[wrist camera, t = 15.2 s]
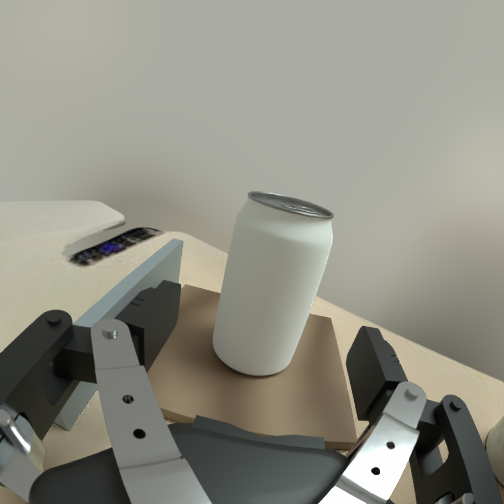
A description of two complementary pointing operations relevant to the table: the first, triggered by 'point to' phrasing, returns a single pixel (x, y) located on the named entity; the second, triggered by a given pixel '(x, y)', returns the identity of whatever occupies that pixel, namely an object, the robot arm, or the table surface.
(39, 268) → the table surface
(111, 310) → the low wall
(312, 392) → the walnut board
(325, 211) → the can
